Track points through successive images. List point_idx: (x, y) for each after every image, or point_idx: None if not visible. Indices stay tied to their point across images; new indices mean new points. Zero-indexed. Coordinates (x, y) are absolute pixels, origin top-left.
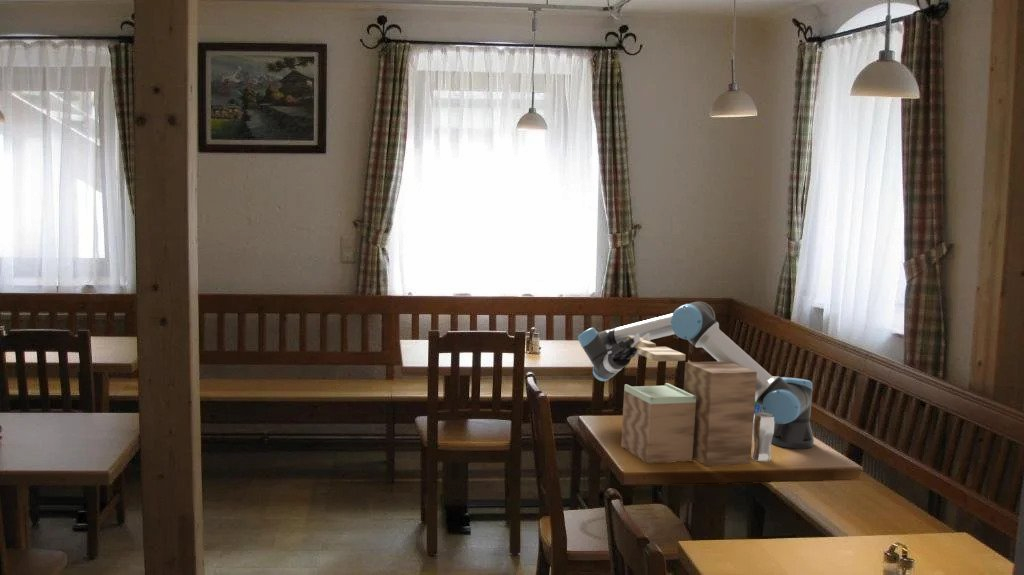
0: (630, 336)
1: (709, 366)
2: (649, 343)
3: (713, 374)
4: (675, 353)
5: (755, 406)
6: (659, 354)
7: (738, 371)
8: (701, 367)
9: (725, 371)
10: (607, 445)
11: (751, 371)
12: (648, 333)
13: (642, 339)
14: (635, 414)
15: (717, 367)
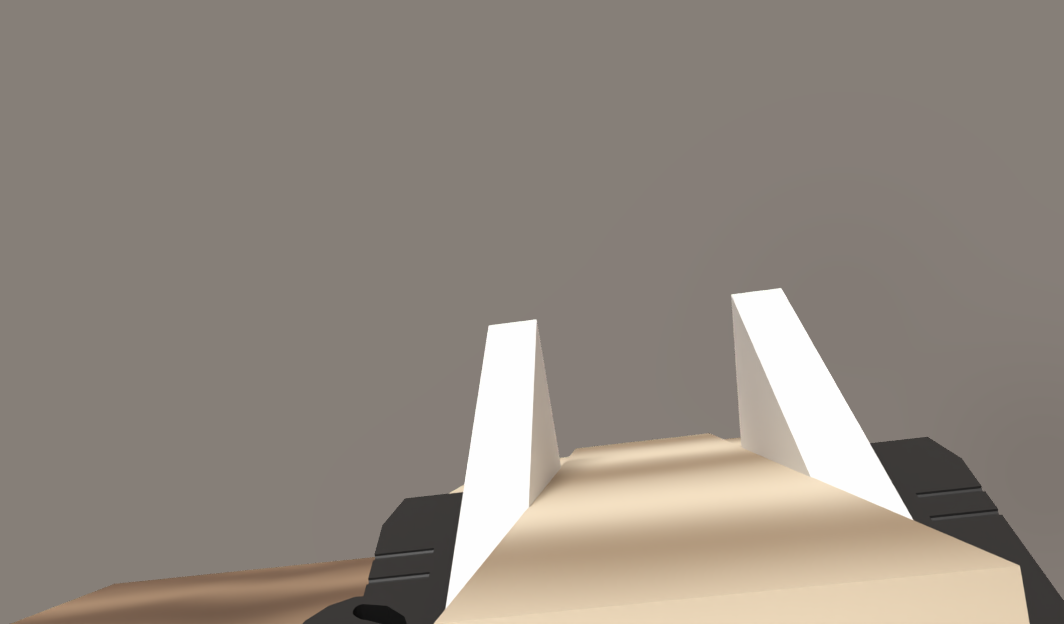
0: (857, 525)
1: (251, 612)
2: (664, 440)
3: None
4: (560, 461)
5: None
6: (735, 439)
7: (212, 579)
8: (355, 595)
9: (299, 572)
10: None
11: (129, 585)
12: (508, 327)
13: (616, 476)
14: None
15: (225, 605)
